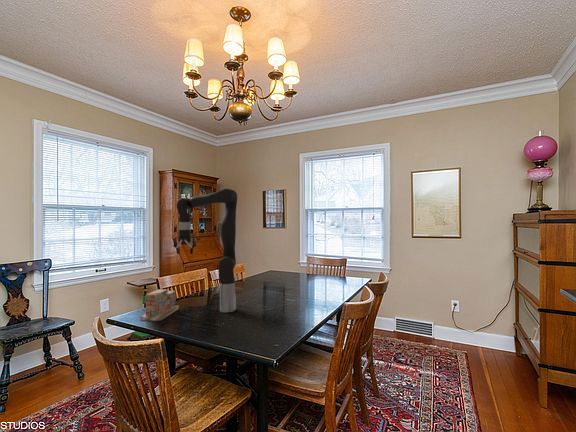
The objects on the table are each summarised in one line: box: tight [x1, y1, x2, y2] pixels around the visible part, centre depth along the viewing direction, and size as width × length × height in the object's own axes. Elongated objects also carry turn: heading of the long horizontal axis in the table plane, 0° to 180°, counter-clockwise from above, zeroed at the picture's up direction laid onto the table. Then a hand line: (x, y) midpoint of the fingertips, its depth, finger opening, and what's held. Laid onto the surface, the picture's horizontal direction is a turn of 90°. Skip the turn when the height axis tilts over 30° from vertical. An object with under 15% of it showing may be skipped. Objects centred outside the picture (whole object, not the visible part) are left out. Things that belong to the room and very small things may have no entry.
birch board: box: [139, 305, 180, 322], centre depth 178 cm, size 12×22×2 cm, turn 174°
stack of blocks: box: [145, 289, 176, 316], centre depth 178 cm, size 21×6×12 cm, turn 171°
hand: (184, 254), depth 193 cm, fingers open, 8 cm apart
